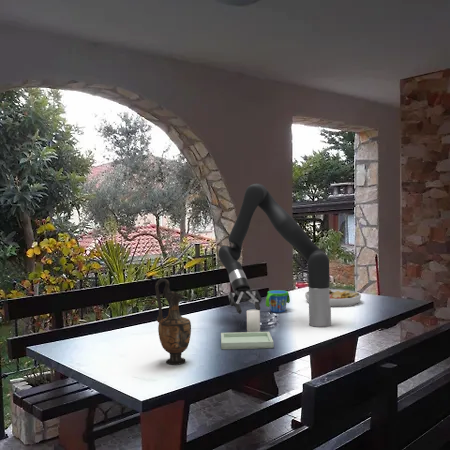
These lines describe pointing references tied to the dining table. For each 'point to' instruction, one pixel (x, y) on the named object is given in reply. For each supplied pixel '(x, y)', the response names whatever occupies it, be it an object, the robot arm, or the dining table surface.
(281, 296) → the snack cup
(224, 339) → the tray
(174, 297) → the vase
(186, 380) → the dining table surface
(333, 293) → the plate of food
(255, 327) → the white upright cylinder
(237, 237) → the robot arm
